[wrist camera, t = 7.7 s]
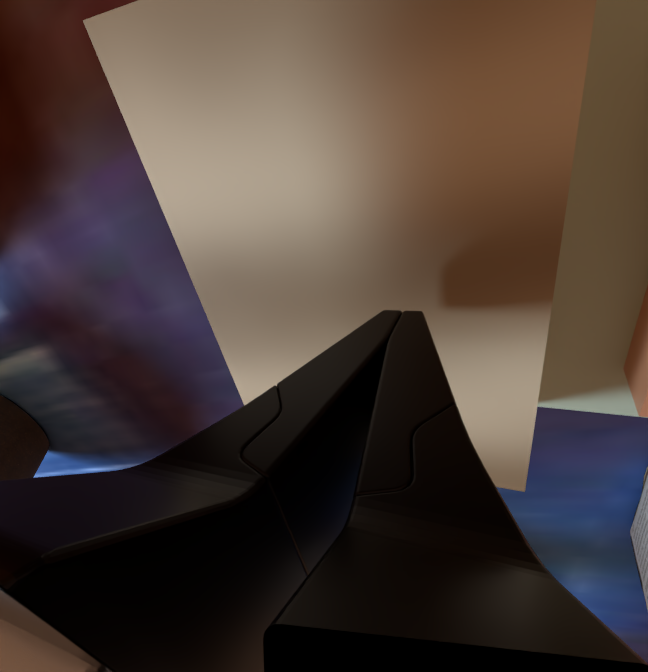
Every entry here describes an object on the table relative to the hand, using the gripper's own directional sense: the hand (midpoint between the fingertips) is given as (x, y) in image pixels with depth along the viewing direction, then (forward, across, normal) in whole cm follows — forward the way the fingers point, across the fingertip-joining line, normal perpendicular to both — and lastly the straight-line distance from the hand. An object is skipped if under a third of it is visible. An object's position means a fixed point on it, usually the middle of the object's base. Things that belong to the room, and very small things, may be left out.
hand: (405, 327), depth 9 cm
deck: (+5, +2, 0) cm, 5 cm away
